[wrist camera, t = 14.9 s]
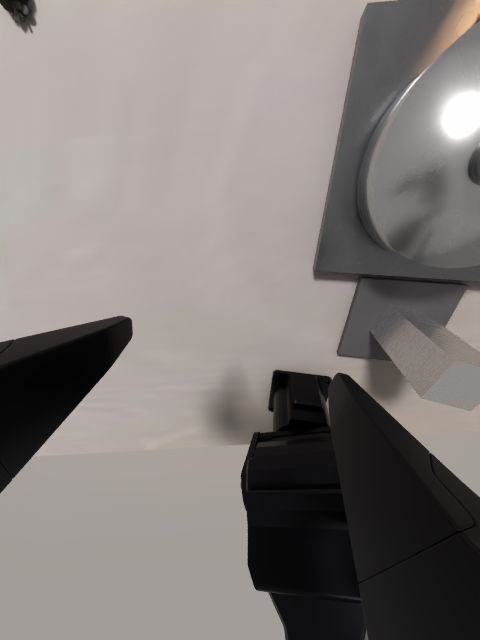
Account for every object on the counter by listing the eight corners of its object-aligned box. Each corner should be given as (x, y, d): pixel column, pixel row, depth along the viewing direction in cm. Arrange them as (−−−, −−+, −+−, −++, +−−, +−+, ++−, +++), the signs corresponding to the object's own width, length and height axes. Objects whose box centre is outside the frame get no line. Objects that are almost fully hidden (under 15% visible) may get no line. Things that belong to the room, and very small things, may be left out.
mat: (420, 361, 21) (424, 364, 20) (337, 351, 22) (338, 354, 21) (463, 283, 17) (468, 285, 17) (359, 276, 18) (361, 278, 18)
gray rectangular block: (421, 311, 18) (512, 374, 11) (401, 339, 20) (471, 411, 13) (386, 302, 18) (455, 360, 11) (369, 331, 20) (420, 398, 13)
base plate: (495, 279, 17) (507, 283, 16) (312, 267, 18) (314, 270, 17) (671, -6, 10) (708, -26, 9) (360, 18, 12) (367, 3, 11)
